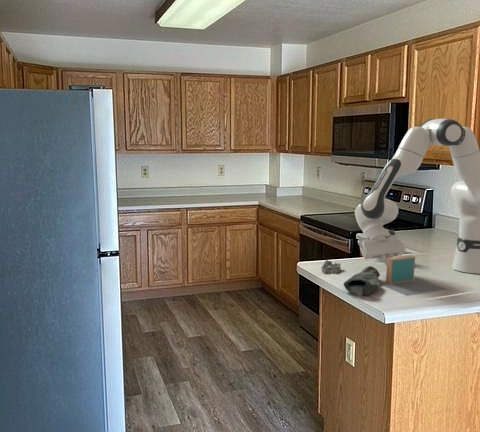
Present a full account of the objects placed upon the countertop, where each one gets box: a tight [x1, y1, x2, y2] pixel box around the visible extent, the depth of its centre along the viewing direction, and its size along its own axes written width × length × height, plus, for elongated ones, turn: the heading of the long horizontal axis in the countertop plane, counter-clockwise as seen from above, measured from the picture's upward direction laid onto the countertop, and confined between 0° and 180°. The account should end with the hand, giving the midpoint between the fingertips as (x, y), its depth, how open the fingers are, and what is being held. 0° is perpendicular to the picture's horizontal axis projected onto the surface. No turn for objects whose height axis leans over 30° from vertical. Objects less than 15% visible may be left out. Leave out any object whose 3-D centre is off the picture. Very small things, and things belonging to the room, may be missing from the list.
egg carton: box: [321, 259, 342, 275], centre depth 220 cm, size 10×7×4 cm
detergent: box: [343, 265, 381, 297], centre depth 197 cm, size 13×7×25 cm
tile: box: [385, 254, 416, 284], centre depth 202 cm, size 12×3×10 cm, turn 114°
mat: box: [379, 276, 448, 297], centre depth 198 cm, size 20×18×1 cm
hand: (390, 265), depth 207 cm, fingers closed
